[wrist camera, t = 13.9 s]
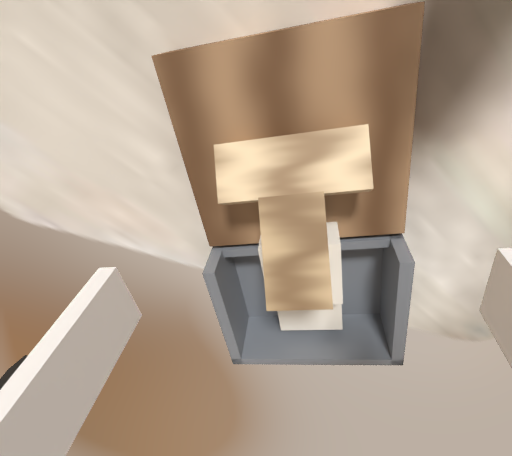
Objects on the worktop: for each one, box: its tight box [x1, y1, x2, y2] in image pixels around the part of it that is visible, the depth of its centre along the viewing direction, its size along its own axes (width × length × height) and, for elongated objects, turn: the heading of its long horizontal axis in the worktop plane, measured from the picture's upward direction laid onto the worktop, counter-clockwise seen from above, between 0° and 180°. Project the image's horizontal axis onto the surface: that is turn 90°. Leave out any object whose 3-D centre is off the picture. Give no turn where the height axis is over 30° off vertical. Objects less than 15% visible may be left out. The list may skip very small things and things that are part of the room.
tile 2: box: [258, 222, 343, 304], centre depth 26 cm, size 6×6×3 cm
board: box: [152, 2, 425, 246], centre depth 24 cm, size 16×15×3 cm
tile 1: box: [277, 304, 343, 330], centre depth 31 cm, size 6×6×3 cm
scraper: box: [214, 124, 374, 311], centre depth 21 cm, size 10×4×11 cm
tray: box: [203, 233, 415, 365], centre depth 30 cm, size 16×12×6 cm
